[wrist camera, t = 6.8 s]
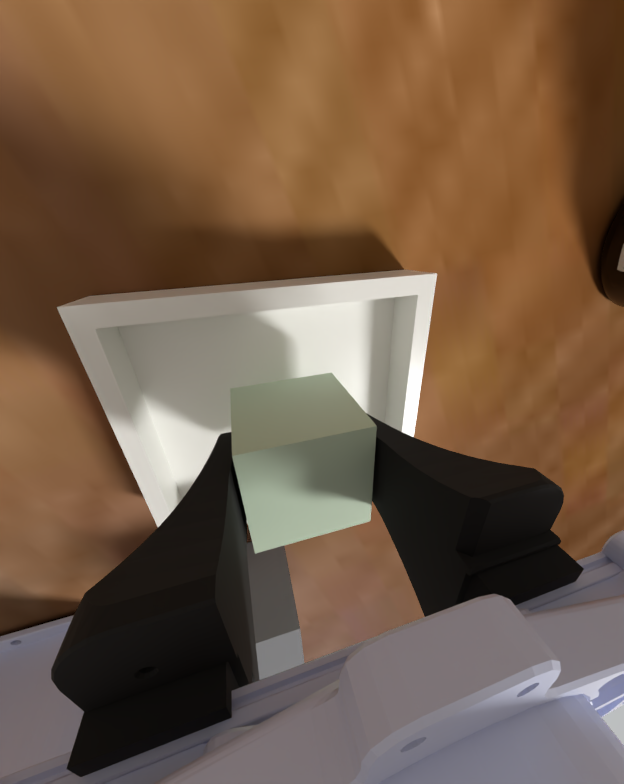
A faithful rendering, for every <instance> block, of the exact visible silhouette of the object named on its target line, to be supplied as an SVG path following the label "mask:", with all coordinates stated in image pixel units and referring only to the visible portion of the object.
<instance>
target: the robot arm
mask: <svg viewBox="0 0 624 784" xmlns="http://www.w3.org/2000/svg"><path fill="white" fill-rule="evenodd" d="M366 414H367V413H366ZM367 415H368V416H369V417H370V418H371V420H372V421H373V422H374V423H375V424H376V426H377V431H376V446H375V461H374V476H373V491H372V501H373V503H374V504H375V506H376V508H377V510H378V511H379V513H380V515H381V517H382V519H383V521H384V523H385V525H386V527H387V529H388V531H389V534H390V536H391V538H392V540H393V542H394V544H395V547H396V549H397V551H398V553H399V555H400V558H401V560H402V562H403V564H404V567H405V569H406V571H407V574H408V576H409V579H410V581H411V583H412V586H413V588H414V590H415V593H416V595H417V598H418V600H419V603H420V605H421V608H422V610H423V613H424V615H425V617H424V618H421V619H418V620H416V621H413V622H410V623H408V624H405V625H402V626H400V627H397V628H394V629H392V630H389V631H386V632H384V633H382V634H380V635H378V636H376V637H373V638H371V639H368V640H365V641H363V642H360V643H357V644H355V645H352V646H349V647H347V648H344V649H341V650H339V651H336V652H333V653H331V654H328V655H325V656H323V657H320V658H317V659H315V660H312V661H309V662H307V663H304V664H301V665H299V666H296V667H293V668H291V669H288V670H285V671H283V672H280V673H277V674H275V675H272V676H269V677H267V678H264V679H262V680H260V679H259V670H258V661H257V652H256V642H255V633H254V623H253V613H252V603H251V593H250V582H249V571H248V560H247V518H246V513H245V509H244V505H243V501H242V496H241V492H240V488H239V484H238V479H237V475H236V471H235V467H234V462H233V458H232V436H231V432H228V433H223V434H220V435H219V437H218V439H217V441H216V444H215V446H214V448H213V450H212V452H211V454H210V456H209V458H208V460H207V461H206V463H205V465H204V467H203V469H202V470H201V472H200V474H199V475H198V477H197V478H196V480H195V481H194V483H193V484H192V486H191V487H190V489H189V490H188V492H187V493H186V495H185V496H184V497H183V499H182V500H181V501H180V502H179V504H178V505H177V506H176V508H175V509H174V510H173V511H172V512H171V514H170V515H169V516H168V517H167V518H166V519H165V520H164V522H163V523H162V524H161V525H160V526H159V527H158V528H157V529H156V530H155V531H154V532H153V533H152V534H151V535H150V536H149V537H148V538H147V539H146V540H145V541H144V542H143V543H142V544H141V545H140V546H139V547H138V548H137V549H136V550H135V551H134V552H133V553H132V554H131V555H130V556H129V557H127V558H126V559H125V560H124V561H123V562H122V563H121V564H120V565H118V566H117V567H116V568H115V569H114V570H112V571H111V572H110V573H109V574H108V575H107V576H105V577H104V578H103V579H102V580H101V581H99V582H98V583H97V584H96V585H95V586H93V587H92V588H91V589H90V590H88V591H87V592H86V593H85V594H84V597H83V599H82V601H81V603H80V604H79V606H78V608H77V610H76V612H75V614H74V615H72V616H69V617H65V618H62V619H59V620H55V621H52V622H48V623H45V624H41V625H38V626H34V627H31V628H27V629H24V630H20V631H17V632H13V633H10V634H7V635H3V636H0V784H624V745H623V744H622V743H621V741H620V740H619V739H618V738H617V736H616V735H615V734H614V733H613V731H612V730H611V729H610V728H609V726H608V725H607V724H606V723H605V722H604V720H603V719H602V718H601V717H603V716H605V715H607V714H608V713H610V712H612V711H613V710H615V709H616V708H618V707H620V706H622V705H624V530H623V531H620V532H618V533H616V534H614V535H613V536H611V537H610V538H609V539H608V540H607V541H606V543H605V544H604V546H603V548H602V552H599V553H596V554H594V555H591V556H588V557H586V558H583V559H581V560H578V561H575V560H574V559H573V558H571V557H570V556H569V555H568V554H567V553H566V552H565V551H564V550H562V549H561V548H560V547H559V546H558V544H560V542H561V540H560V538H559V537H558V536H557V535H555V534H554V533H553V532H552V531H551V530H550V529H551V527H552V525H553V523H554V521H555V519H556V517H557V515H558V513H559V512H560V510H561V507H562V504H563V498H564V495H563V491H562V489H561V488H560V487H559V486H558V485H556V484H555V483H554V482H552V481H551V480H549V479H548V478H547V477H545V476H544V475H543V474H541V473H540V472H538V471H537V470H536V469H534V468H527V467H521V466H515V465H508V464H502V463H497V462H492V461H487V460H483V459H478V458H474V457H470V456H466V455H463V454H459V453H456V452H452V451H449V450H446V449H443V448H440V447H437V446H434V445H431V444H429V443H426V442H423V441H421V440H419V439H416V438H414V437H412V436H409V435H407V434H405V433H403V432H401V431H399V430H397V429H395V428H393V427H391V426H389V425H387V424H385V423H383V422H381V421H380V420H378V419H376V418H374V417H372V416H370V415H369V414H367Z"/></svg>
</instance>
